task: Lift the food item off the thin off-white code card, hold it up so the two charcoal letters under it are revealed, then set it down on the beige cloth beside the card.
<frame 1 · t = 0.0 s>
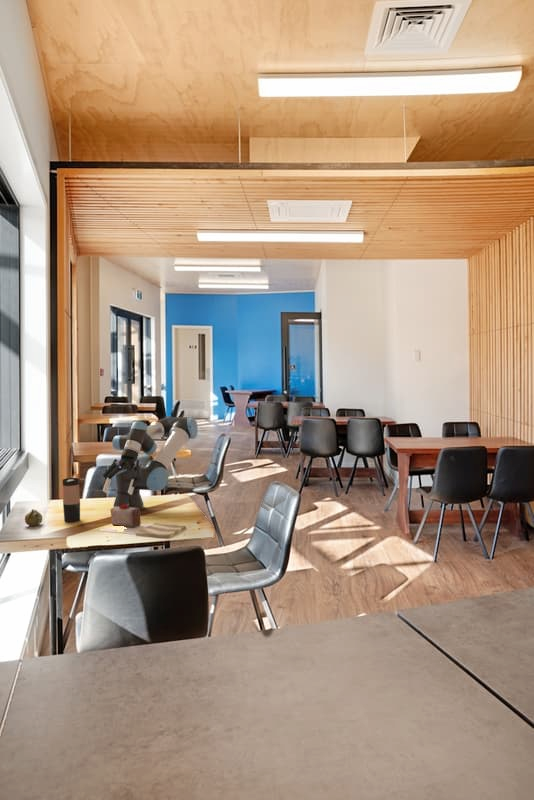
hand: (116, 492, 273), 15 cm above the table, tool tilted 35°, fingers open, 13 cm apart
travel mug: (72, 521, 284), on the table
onion: (34, 525, 277), on the table
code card: (125, 527, 270), on the table
food item: (125, 525, 273), resting on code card
beige cloth: (161, 531, 262), on the table
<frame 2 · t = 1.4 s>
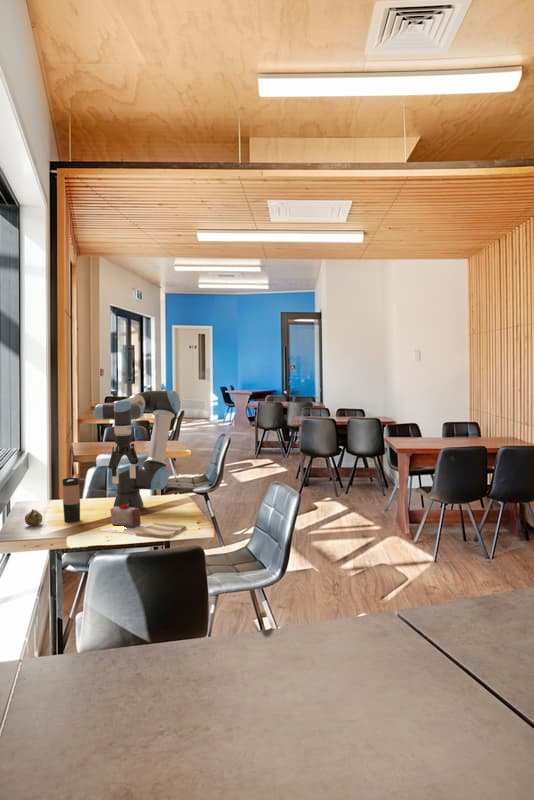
hand: (124, 480, 272), 21 cm above the table, tool pointing down, fingers open, 13 cm apart
nothing on the table moved.
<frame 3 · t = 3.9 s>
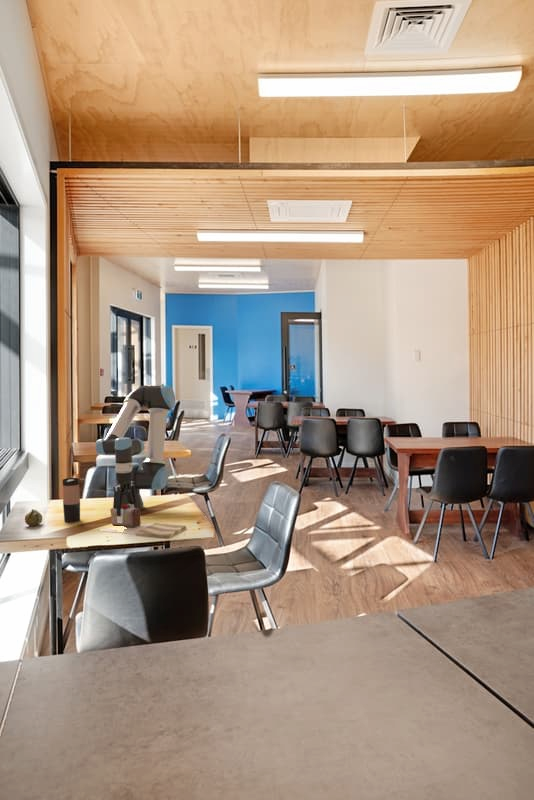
hand: (125, 520, 273), 2 cm above the table, tool pointing down, fingers closed on food item, 8 cm apart
food item: (125, 525, 273), resting on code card, touching gripper
everything else where it was.
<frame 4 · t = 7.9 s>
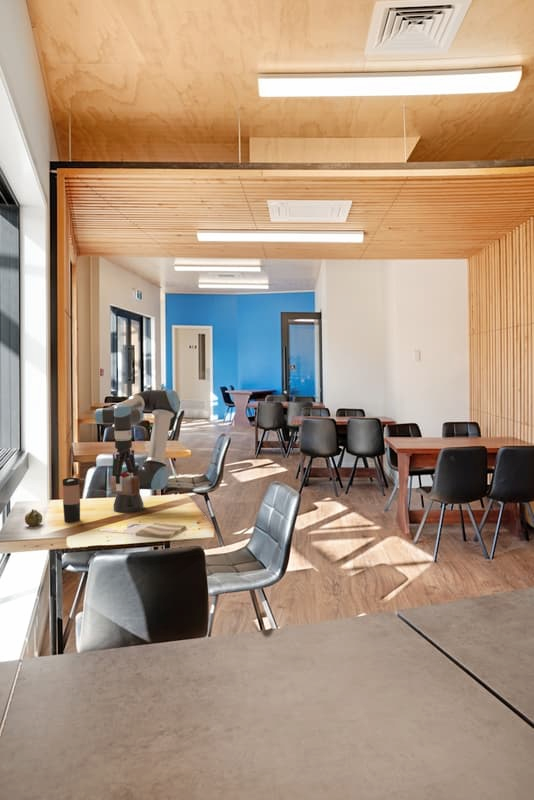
hand: (124, 488, 272), 17 cm above the table, tool pointing down, fingers closed on food item, 8 cm apart
food item: (124, 494, 272), point 15 cm above the table, touching gripper
everything else where it was.
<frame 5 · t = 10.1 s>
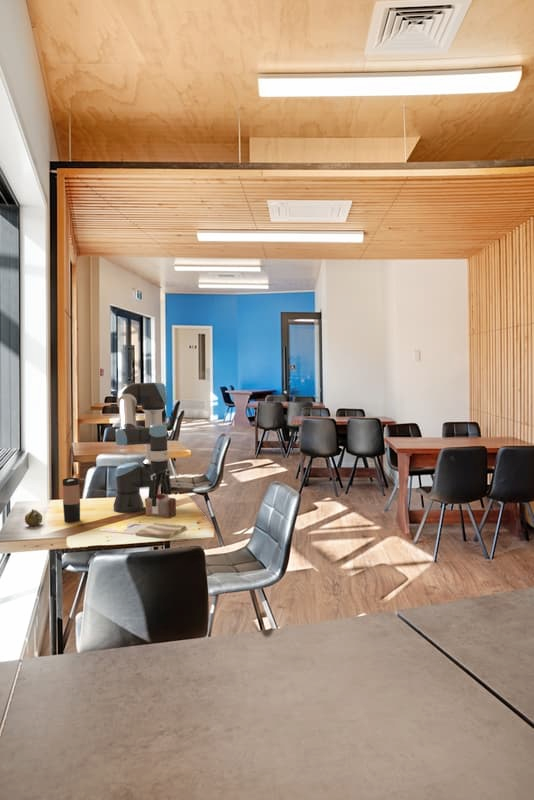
hand: (160, 510, 262), 9 cm above the table, tool pointing down, fingers closed on food item, 8 cm apart
food item: (160, 516, 262), point 7 cm above the table, touching gripper
everything else where it was.
when the fingers open (5 cm above the table, at t = 11.9 s): food item drops 1 cm, resting on beige cloth.
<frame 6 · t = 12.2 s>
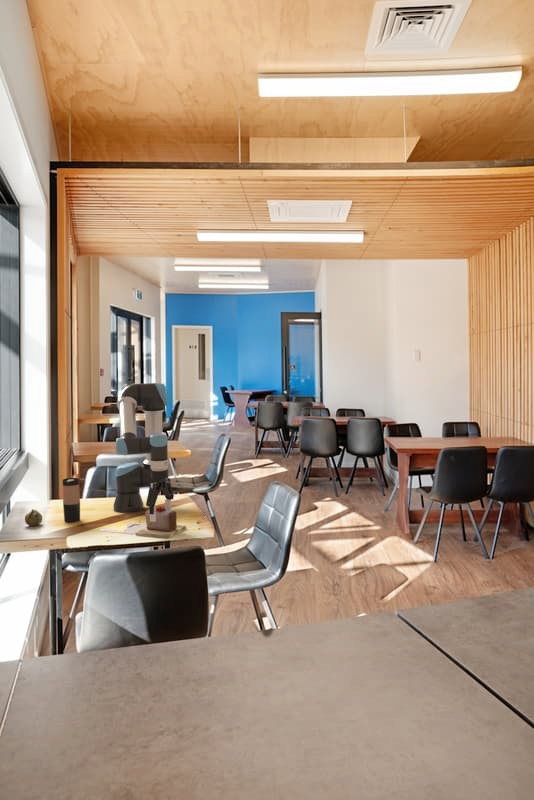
hand: (160, 517, 262), 6 cm above the table, tool pointing down, fingers open, 12 cm apart
food item: (161, 529, 262), point 1 cm above the table, touching beige cloth
everything else where it was.
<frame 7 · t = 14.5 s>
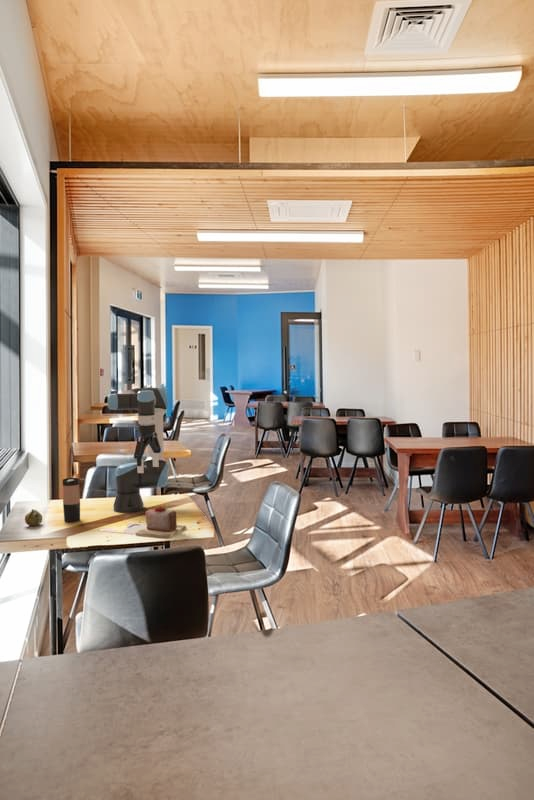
hand: (148, 469, 274), 25 cm above the table, tool pointing down, fingers open, 13 cm apart
nothing on the table moved.
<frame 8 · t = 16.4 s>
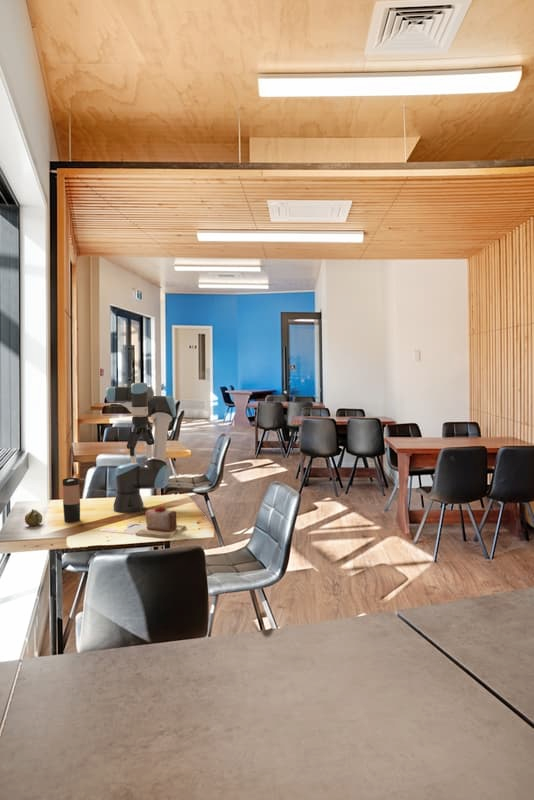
hand: (141, 460, 280), 29 cm above the table, tool pointing down, fingers open, 13 cm apart
nothing on the table moved.
at the end: food item inside the target area on the beige cloth (0.1 cm from its centre), point 1.0 cm above the beige cloth's base; food item tilted 0°; the gripper is holding nothing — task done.
